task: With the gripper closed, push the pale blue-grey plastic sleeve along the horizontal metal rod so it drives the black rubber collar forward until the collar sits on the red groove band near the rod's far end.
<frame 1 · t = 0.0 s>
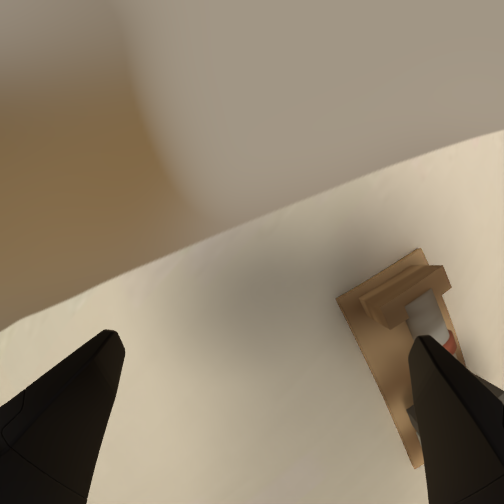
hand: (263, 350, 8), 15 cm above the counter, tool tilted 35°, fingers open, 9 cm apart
sleeve: (468, 445, 15), point 7 cm above the counter, slide at 0.0 cm
wooden rail stand: (422, 373, 21), on the counter
collar: (455, 411, 16), point 6 cm above the counter, slide at 0.0 cm
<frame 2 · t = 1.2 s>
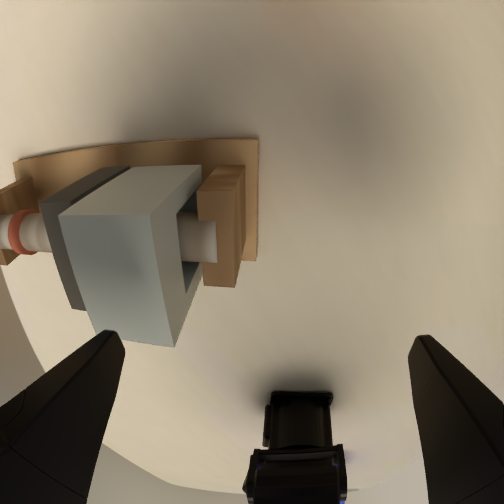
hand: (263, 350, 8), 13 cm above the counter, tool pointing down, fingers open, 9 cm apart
sleeve: (147, 244, 14), point 6 cm above the counter, slide at 0.0 cm
wooden rail stand: (117, 199, 20), on the counter
collar: (98, 233, 15), point 5 cm above the counter, slide at 0.0 cm
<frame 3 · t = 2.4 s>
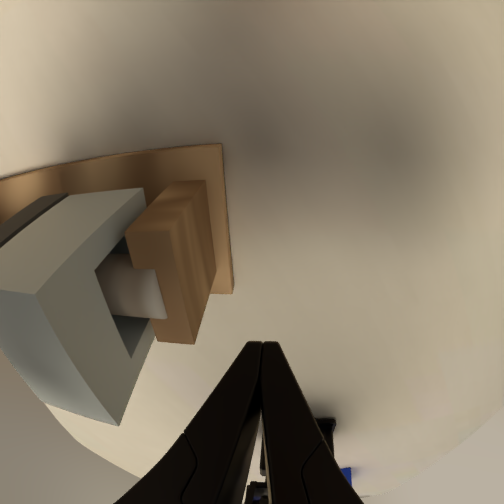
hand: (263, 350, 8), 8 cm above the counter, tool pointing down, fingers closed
sleeve: (82, 298, 10), point 6 cm above the counter, slide at 0.0 cm
wooden rail stand: (71, 227, 16), on the counter
collar: (38, 279, 11), point 6 cm above the counter, slide at 0.0 cm
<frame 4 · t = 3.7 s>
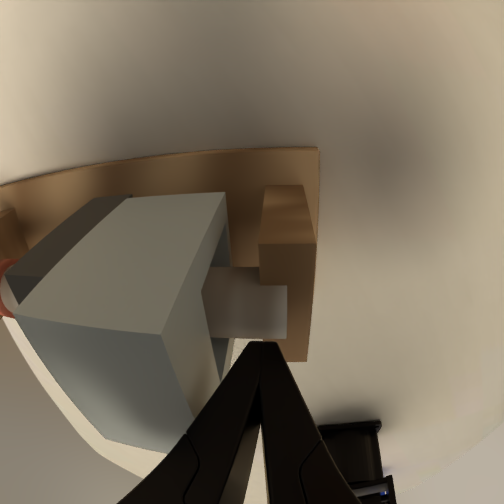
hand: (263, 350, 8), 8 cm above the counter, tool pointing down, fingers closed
sleeve: (158, 319, 10), point 7 cm above the counter, slide at 0.9 cm, touching collar, gripper
wooden rail stand: (125, 232, 16), on the counter
collar: (98, 296, 11), point 6 cm above the counter, slide at 0.4 cm, touching sleeve
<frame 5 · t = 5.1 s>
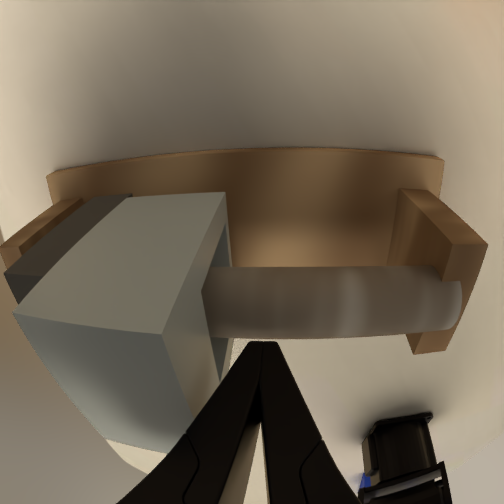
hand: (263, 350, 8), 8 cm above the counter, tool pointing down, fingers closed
sleeve: (158, 319, 9), point 6 cm above the counter, slide at 6.9 cm, touching collar, gripper
wooden rail stand: (233, 229, 15), on the counter
collar: (97, 295, 11), point 5 cm above the counter, slide at 6.4 cm, touching sleeve
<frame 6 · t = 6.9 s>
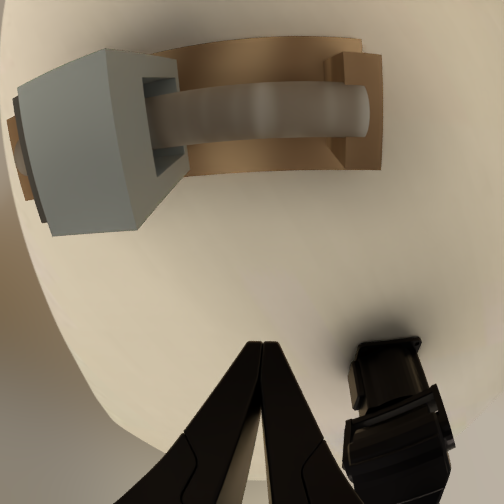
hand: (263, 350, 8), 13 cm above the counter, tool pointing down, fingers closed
sleeve: (115, 132, 11), point 7 cm above the counter, slide at 6.9 cm, touching collar
wooden rail stand: (192, 110, 16), on the counter
collar: (75, 140, 12), point 6 cm above the counter, slide at 6.4 cm, touching sleeve
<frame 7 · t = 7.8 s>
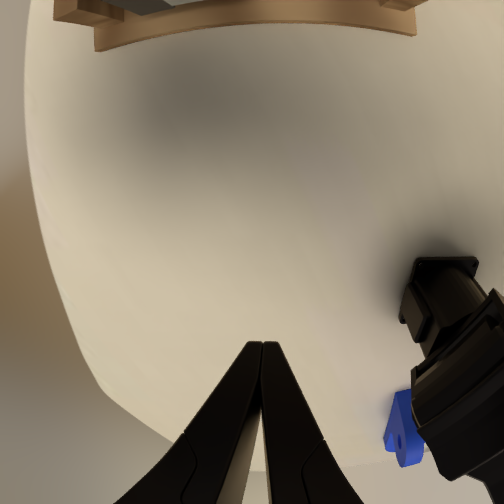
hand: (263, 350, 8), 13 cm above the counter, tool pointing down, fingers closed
bracket: (413, 415, 34), on the counter
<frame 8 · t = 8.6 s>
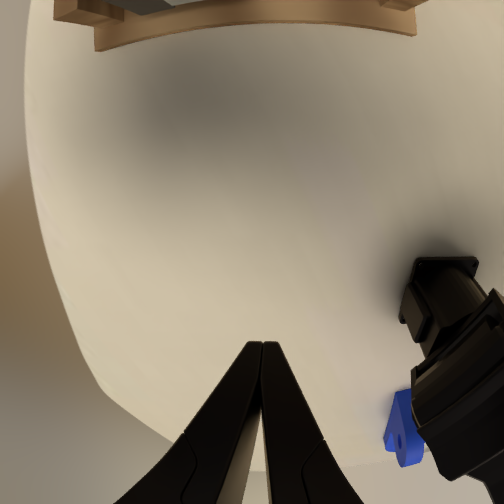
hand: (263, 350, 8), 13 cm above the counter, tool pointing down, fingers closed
bracket: (414, 415, 34), on the counter
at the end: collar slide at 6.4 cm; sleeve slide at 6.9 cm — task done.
